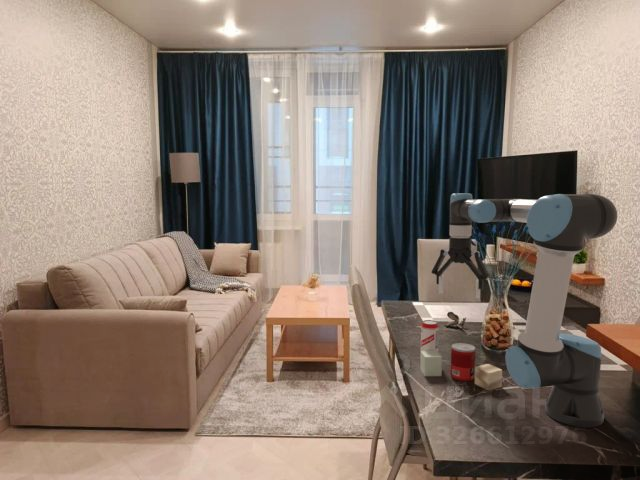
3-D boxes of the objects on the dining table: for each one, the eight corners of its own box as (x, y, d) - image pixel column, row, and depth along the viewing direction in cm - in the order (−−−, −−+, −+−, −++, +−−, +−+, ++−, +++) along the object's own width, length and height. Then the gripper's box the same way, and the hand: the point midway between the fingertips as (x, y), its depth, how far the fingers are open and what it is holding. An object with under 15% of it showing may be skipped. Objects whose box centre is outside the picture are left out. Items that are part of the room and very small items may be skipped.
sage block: (441, 376, 170) (442, 356, 169) (424, 376, 170) (424, 357, 169) (436, 369, 176) (437, 350, 175) (420, 369, 176) (420, 351, 175)
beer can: (434, 368, 177) (435, 325, 175) (417, 364, 180) (418, 322, 178) (439, 362, 182) (441, 321, 180) (423, 359, 185) (424, 318, 183)
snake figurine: (465, 322, 229) (446, 316, 233) (467, 312, 225) (448, 307, 228) (461, 334, 225) (442, 328, 228) (463, 324, 220) (443, 318, 224)
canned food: (475, 382, 164) (476, 351, 163) (451, 380, 166) (452, 349, 165) (473, 373, 172) (474, 343, 170) (449, 372, 173) (450, 342, 172)
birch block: (501, 387, 161) (502, 369, 160) (488, 390, 158) (489, 373, 157) (487, 380, 166) (488, 363, 165) (474, 384, 163) (475, 366, 163)
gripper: (499, 237, 169) (497, 298, 171) (431, 234, 183) (430, 289, 185) (492, 239, 163) (490, 302, 165) (423, 235, 177) (422, 293, 179)
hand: (459, 295), depth 175 cm, fingers open, 13 cm apart
